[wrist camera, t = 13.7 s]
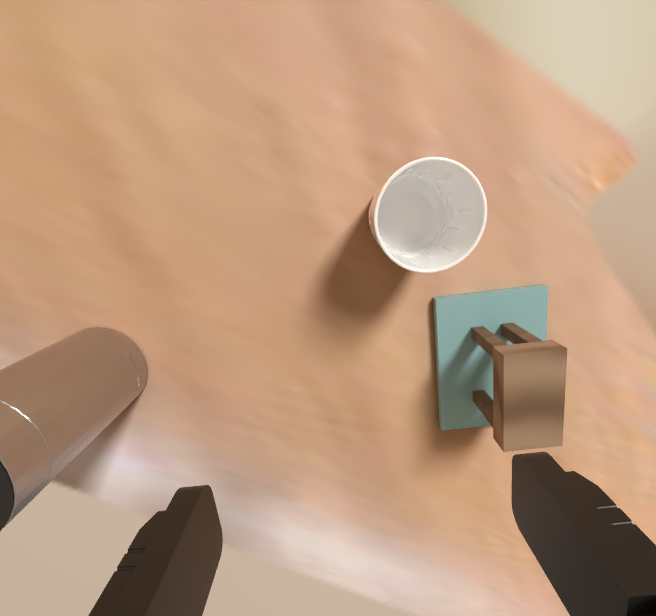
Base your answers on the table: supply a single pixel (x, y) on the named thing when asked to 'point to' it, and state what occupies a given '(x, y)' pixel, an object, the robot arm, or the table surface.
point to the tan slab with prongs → (523, 388)
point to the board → (466, 355)
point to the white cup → (429, 214)
